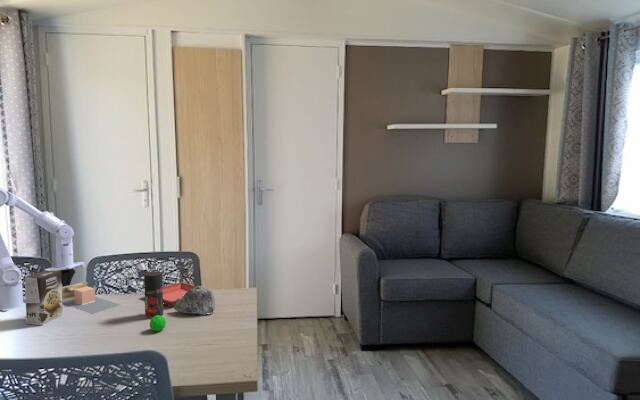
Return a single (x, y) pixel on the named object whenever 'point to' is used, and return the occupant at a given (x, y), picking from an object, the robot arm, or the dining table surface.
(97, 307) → the slate mat
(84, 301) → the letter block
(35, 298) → the brown food box
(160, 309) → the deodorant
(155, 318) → the polyhedron
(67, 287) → the wooden stand
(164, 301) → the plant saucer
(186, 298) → the mineral rock
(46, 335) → the dining table surface
